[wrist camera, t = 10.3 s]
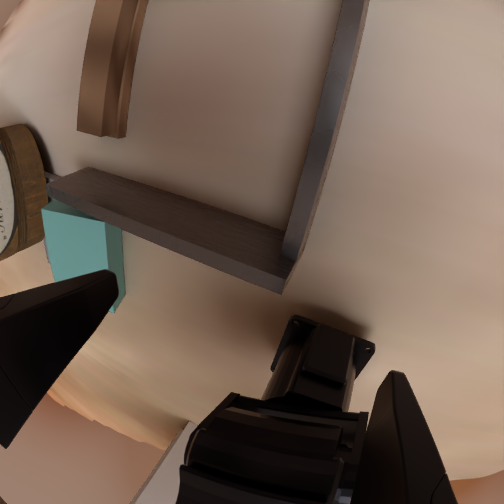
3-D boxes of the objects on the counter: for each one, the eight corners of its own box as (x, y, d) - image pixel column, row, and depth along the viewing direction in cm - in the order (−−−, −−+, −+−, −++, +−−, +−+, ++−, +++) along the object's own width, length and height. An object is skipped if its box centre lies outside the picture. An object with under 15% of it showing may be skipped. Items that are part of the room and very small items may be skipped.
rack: (303, 252, 20) (281, 294, 16) (88, 177, 25) (46, 195, 20) (380, -62, 9) (377, -104, 4) (120, -52, 13) (77, -64, 9)
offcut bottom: (131, 135, 22) (117, 138, 20) (102, 128, 22) (89, 131, 21) (159, -18, 15) (146, -22, 14) (126, -13, 16) (113, -16, 14)
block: (71, 278, 30) (125, 294, 30) (58, 295, 27) (114, 313, 27) (59, 195, 24) (120, 206, 24) (41, 209, 22) (104, 222, 22)
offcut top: (115, 133, 20) (101, 136, 19) (90, 127, 21) (76, 130, 20) (142, -15, 14) (128, -19, 13) (113, -10, 15) (99, -13, 13)
